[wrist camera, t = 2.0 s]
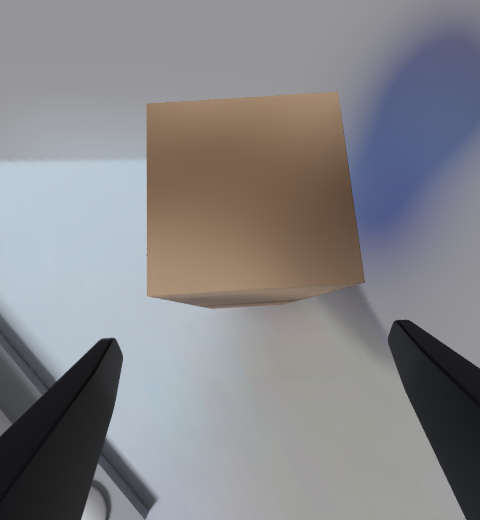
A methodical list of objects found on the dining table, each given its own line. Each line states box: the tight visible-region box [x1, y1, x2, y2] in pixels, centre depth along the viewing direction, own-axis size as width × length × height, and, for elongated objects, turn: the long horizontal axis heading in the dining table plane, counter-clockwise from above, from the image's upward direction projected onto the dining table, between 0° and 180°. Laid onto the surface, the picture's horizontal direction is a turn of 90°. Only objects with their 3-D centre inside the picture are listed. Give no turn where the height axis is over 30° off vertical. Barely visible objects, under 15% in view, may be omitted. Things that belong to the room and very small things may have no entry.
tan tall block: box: [147, 92, 365, 309], centre depth 14 cm, size 6×5×14 cm
